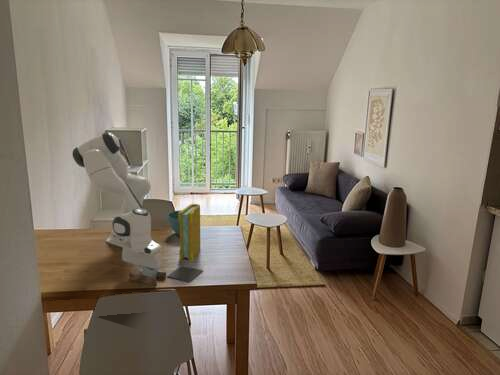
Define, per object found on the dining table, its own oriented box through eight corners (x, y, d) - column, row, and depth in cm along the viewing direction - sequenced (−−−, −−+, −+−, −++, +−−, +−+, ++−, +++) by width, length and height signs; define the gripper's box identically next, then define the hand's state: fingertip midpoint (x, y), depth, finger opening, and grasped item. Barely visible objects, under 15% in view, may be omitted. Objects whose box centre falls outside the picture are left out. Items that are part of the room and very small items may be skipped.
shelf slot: (129, 279, 169) (129, 273, 168) (140, 272, 176) (140, 266, 175) (155, 285, 163) (155, 279, 163) (165, 277, 171) (165, 271, 170)
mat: (167, 277, 172) (167, 276, 171) (181, 266, 182) (181, 265, 182) (189, 282, 167) (189, 281, 167) (203, 271, 178) (203, 270, 178)
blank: (140, 277, 167) (143, 266, 165) (147, 273, 172) (150, 262, 170) (148, 282, 166) (151, 271, 164) (155, 277, 171) (158, 267, 169)
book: (191, 260, 190) (191, 213, 184) (179, 259, 191) (178, 212, 185) (202, 248, 206) (202, 204, 200) (191, 246, 207) (190, 203, 201)
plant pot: (169, 240, 216) (168, 219, 213) (167, 229, 233) (166, 210, 230) (200, 237, 221) (200, 217, 218) (196, 227, 238) (196, 209, 235)
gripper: (117, 243, 167) (119, 271, 170) (155, 251, 160) (156, 281, 163) (127, 238, 173) (128, 266, 176) (164, 246, 165) (164, 275, 168)
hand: (142, 273), depth 169 cm, fingers closed
